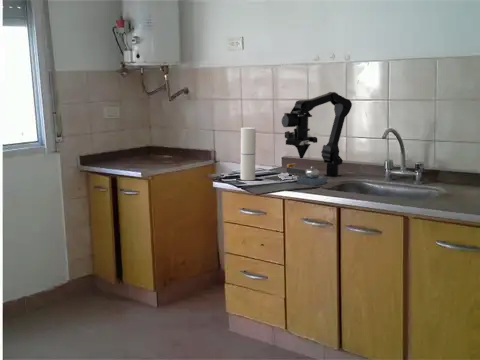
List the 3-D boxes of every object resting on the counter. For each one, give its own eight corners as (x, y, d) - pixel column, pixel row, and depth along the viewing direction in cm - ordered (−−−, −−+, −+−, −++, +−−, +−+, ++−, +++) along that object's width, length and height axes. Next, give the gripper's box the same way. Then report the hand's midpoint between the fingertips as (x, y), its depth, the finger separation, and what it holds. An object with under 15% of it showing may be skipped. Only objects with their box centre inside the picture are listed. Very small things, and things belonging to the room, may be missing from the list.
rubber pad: (277, 176, 291) (277, 175, 291) (293, 178, 284) (293, 177, 284) (264, 178, 283) (264, 177, 283) (280, 181, 277) (280, 180, 277)
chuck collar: (321, 176, 271) (321, 166, 271) (313, 177, 267) (313, 168, 266) (291, 171, 283) (291, 162, 282) (283, 173, 279) (283, 164, 278)
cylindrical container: (238, 179, 280) (238, 128, 275) (243, 177, 286) (244, 127, 282) (252, 180, 277) (252, 128, 273) (257, 178, 284) (257, 127, 279)
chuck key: (292, 174, 296) (292, 163, 294) (297, 175, 294) (297, 163, 292) (285, 175, 291) (285, 164, 290) (289, 176, 289) (290, 164, 288)
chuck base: (309, 180, 279) (309, 174, 278) (326, 183, 272) (326, 176, 272) (296, 183, 271) (297, 176, 271) (314, 185, 265) (314, 179, 264)
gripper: (300, 124, 291) (299, 154, 294) (277, 126, 278) (276, 158, 280) (318, 125, 284) (317, 157, 286) (295, 128, 270) (294, 160, 273)
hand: (301, 158), depth 282 cm, fingers closed
